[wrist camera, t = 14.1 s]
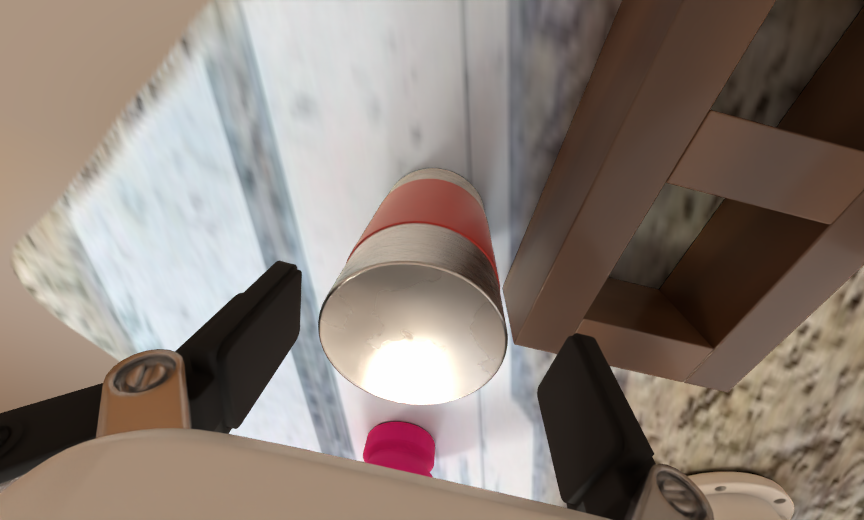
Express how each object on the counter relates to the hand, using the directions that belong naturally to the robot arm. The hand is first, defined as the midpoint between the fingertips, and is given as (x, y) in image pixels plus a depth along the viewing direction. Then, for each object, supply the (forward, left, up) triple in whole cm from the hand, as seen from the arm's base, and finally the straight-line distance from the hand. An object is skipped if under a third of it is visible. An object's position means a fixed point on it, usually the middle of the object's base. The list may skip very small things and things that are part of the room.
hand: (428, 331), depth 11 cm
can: (+1, 0, -9) cm, 9 cm away
